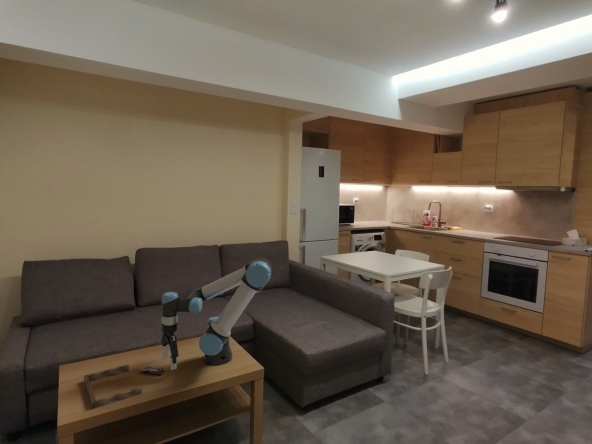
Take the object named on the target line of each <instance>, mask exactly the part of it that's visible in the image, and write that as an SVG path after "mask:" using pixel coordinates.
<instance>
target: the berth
mask: <svg viewBox="0 0 592 444" xmlns="http://www.w3.org/2000/svg"><path fill="white" fill-rule="evenodd" d="M126 372H127V373H128V372H130V365H129V363H128V364H124V365H119V366H116V367H113V368H108V369H104V370H101V371H97V372H93V373H92V372H91V373H89V374H85V375H83V381H84V385H85V386H84V387H85V389H86V393H87V396H88V398H89V402H90V405H91V409H92V410H95V409H98V408H101V407H104V406H106V405H110V404H113V403H117V402H119V401H123V400H126V399H129V398H132V397H136V396H138V395H142V394H143V388H142V386H139V387H135V388H132V389H129V390H126V391H122V392H119V393H116V394H112V395H109V396H105V397H102V398H99V399H96V397H95V393H94V389H93V387H92V384H91V382H93V381H96V380H97V381H99V380H101V379H105V378H109V377H111V376H116V375H119V374H123V373H126Z"/></svg>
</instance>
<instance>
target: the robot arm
mask: <svg viewBox="0 0 592 444" xmlns="http://www.w3.org/2000/svg"><path fill="white" fill-rule="evenodd" d="M272 271H273V266H272V263H271V261H270V260H269V259H267V258H265V257H262V256H261V257H256V258H255V259H252V260H251V261H250V262H248V263H245V264H244V265H243V267H242V268H240V269H238V270H235V271H233V272H231V273H229V274H227V275H224V276H222V277H221V278H219V279H216V280H215V281H212V282H210V283H208V284H206V285H203V286H202V287H199V288H196V289H194V290H192V291H191V292H190V294H189V295H188V296H187V297H185V296H184V297H182V296H179V294H178V293H177V292H174V291H167V292H164V293H163V294H162V296H161V318H160V320H161V332H162V335H161V342H160V343H161V345H162V359H168V358H169V357H170V370H171V371H173V370H177V366H178V364H177V362H178V357H179V349H178V341H177V336H176V335H175V333H176V332H177V331H178V319H179V318H178V315H179V314H178V313H181V314H182V313H183V314H184V313H185V314H188V313H189V314H199V313H200V312H202V309H203V303H204V302H206V301H208V300H210V299H213V298H214V297H217V296H218V295H221V294H223V293H225V292H228V291H229V290H231V289H234V288H235V287H238V288H237V289H236V291H235V292H234V293H233V295H232V297H231V298H230V299H229V300H228V302H227V304H226V306H225V307H224V308H223V310H222V311H221V313H220V314H219V316H211V317H209V318H207V322H206V323H207V327H206V329H205V330H204V332H203V334H202V335H201V336H200V339H199V341H198V347H199V349H200V351H201V352H202V353H204V356H203V357H204V362H205V363H206V364H208V365H212V366H220V365H225V364H228V363H229V362H231V361H232V359H233V350H232V348H231V345H230V336H231V334H232V333H231V332H232V331H231V330H232V328H233V327H234V325H235V324H236V322H237V321H238V319H239V318H240V317H241V315H242V314H243V312H244V311H245V309H246V308H247V306H248V305H249V304H250V302H251V300H252V299H253V297H254V296H255V294H256V293H260V292H261V291H262V290H263V288H264V287H265V286H266V285H267V284H268V283H269V281H270V280H271V275H272ZM169 351H170V356H169Z"/></svg>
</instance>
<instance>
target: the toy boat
mask: <svg viewBox="0 0 592 444" xmlns="http://www.w3.org/2000/svg"><path fill="white" fill-rule="evenodd" d="M166 366H167V365H165V364H163V365H162V366H159V367H156V366H153V365H148V366H147V365H146V366H143V368H139V371H141V372H148V373H149V374H152V375H157V376H162V375H163V374H166V373H165V372H166V370H164V368H165V367H166Z"/></svg>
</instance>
